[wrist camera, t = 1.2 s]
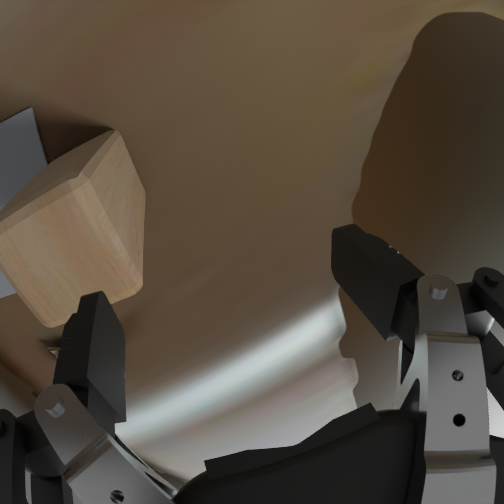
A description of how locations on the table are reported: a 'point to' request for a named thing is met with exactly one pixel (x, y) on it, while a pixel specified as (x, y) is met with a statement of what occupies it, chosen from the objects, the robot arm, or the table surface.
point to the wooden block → (76, 230)
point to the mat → (18, 163)
